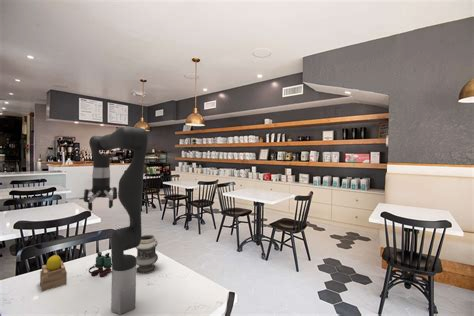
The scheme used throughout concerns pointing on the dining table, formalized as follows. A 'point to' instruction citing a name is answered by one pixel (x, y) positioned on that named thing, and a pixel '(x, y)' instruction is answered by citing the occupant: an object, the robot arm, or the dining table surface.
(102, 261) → the binoculars
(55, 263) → the lemon
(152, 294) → the dining table surface
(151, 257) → the apothecary jar
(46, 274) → the wooden crate
